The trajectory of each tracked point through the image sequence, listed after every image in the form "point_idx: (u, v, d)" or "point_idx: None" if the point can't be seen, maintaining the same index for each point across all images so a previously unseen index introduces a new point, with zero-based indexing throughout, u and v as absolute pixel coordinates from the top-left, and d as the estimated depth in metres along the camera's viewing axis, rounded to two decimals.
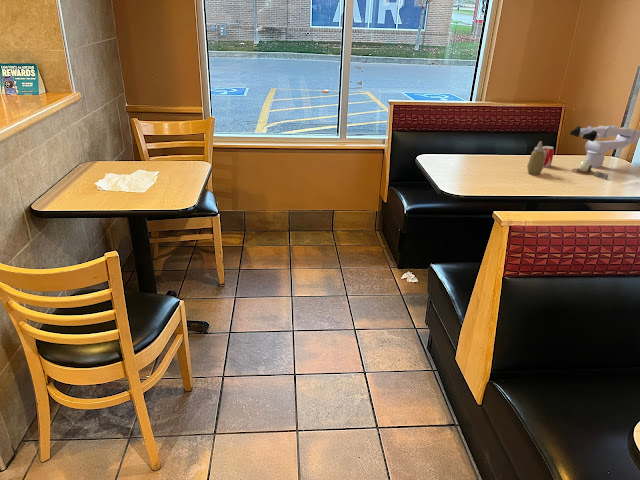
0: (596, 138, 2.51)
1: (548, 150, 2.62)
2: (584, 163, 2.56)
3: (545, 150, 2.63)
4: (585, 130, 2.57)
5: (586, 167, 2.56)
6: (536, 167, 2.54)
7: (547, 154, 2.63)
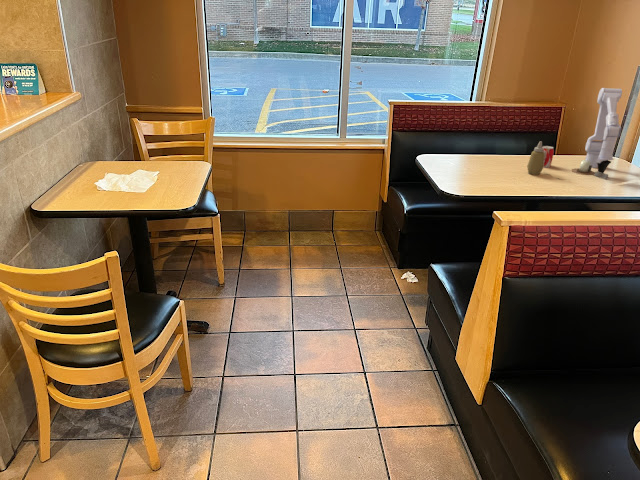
0: None
1: (548, 150, 2.62)
2: (584, 163, 2.56)
3: (545, 150, 2.63)
4: None
5: (586, 167, 2.56)
6: (536, 167, 2.54)
7: (547, 154, 2.63)
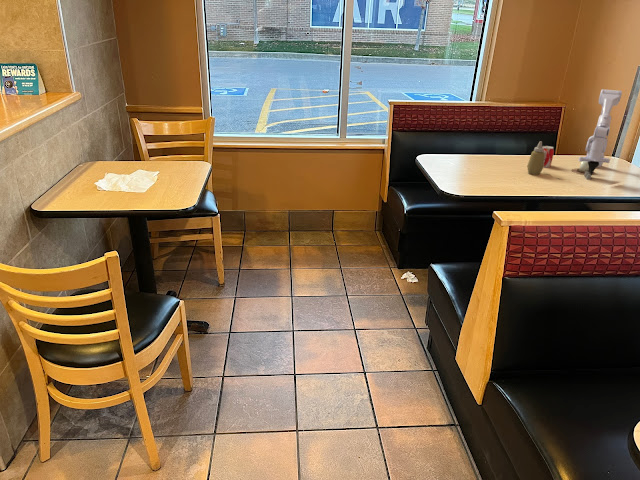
0: None
1: (548, 150, 2.62)
2: (581, 162, 2.57)
3: (545, 150, 2.63)
4: None
5: (583, 167, 2.56)
6: (536, 167, 2.54)
7: (547, 154, 2.63)
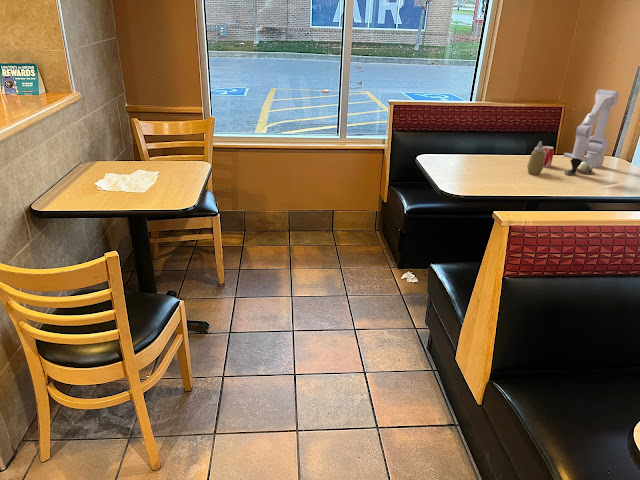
0: None
1: (548, 150, 2.62)
2: None
3: (545, 150, 2.63)
4: None
5: (580, 166, 2.58)
6: (536, 167, 2.54)
7: (547, 154, 2.63)
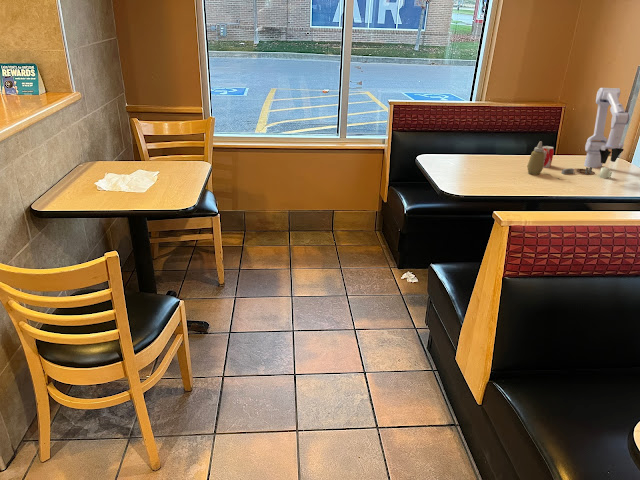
0: None
1: (548, 150, 2.62)
2: None
3: (545, 150, 2.63)
4: None
5: (600, 173, 2.51)
6: (536, 167, 2.54)
7: (547, 154, 2.63)
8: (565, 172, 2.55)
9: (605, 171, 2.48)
